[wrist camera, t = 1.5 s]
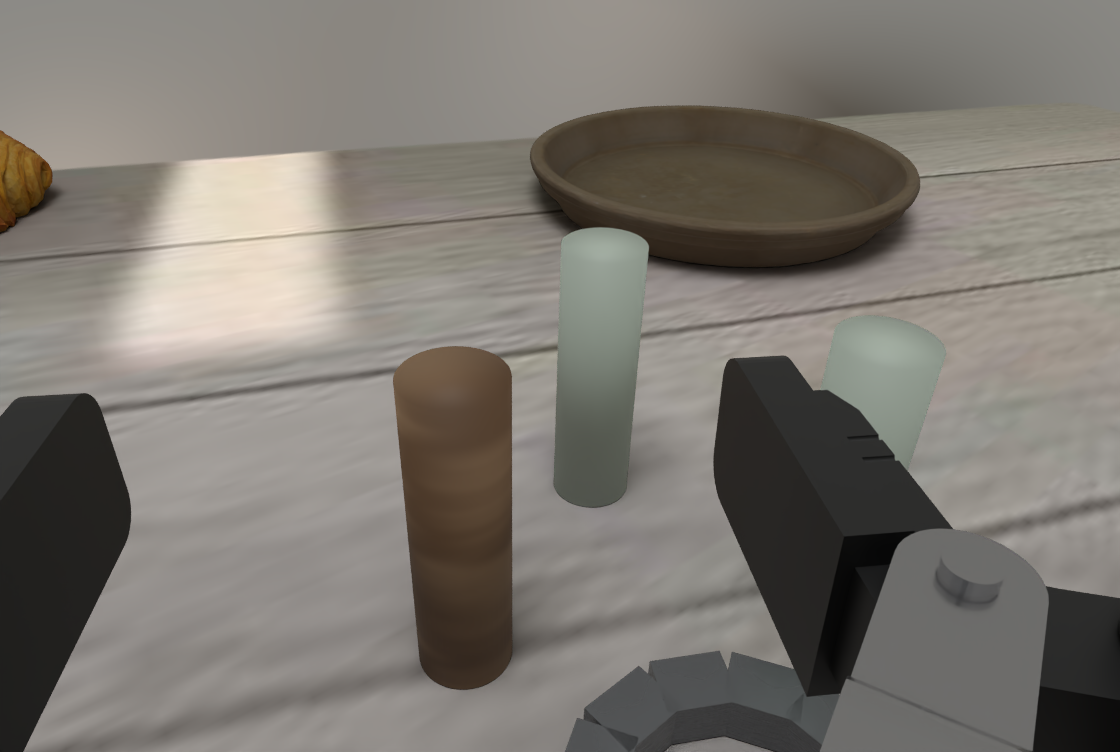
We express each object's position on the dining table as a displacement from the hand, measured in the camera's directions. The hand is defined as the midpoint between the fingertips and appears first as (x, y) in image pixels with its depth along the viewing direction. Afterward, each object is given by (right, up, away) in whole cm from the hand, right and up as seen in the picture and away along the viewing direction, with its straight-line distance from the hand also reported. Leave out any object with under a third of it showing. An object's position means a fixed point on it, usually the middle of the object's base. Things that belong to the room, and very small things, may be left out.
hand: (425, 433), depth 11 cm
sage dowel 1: (+3, -4, +28) cm, 28 cm away
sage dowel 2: (+12, -8, +22) cm, 26 cm away
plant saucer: (+15, +15, +59) cm, 63 cm away
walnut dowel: (-2, -9, +20) cm, 22 cm away
